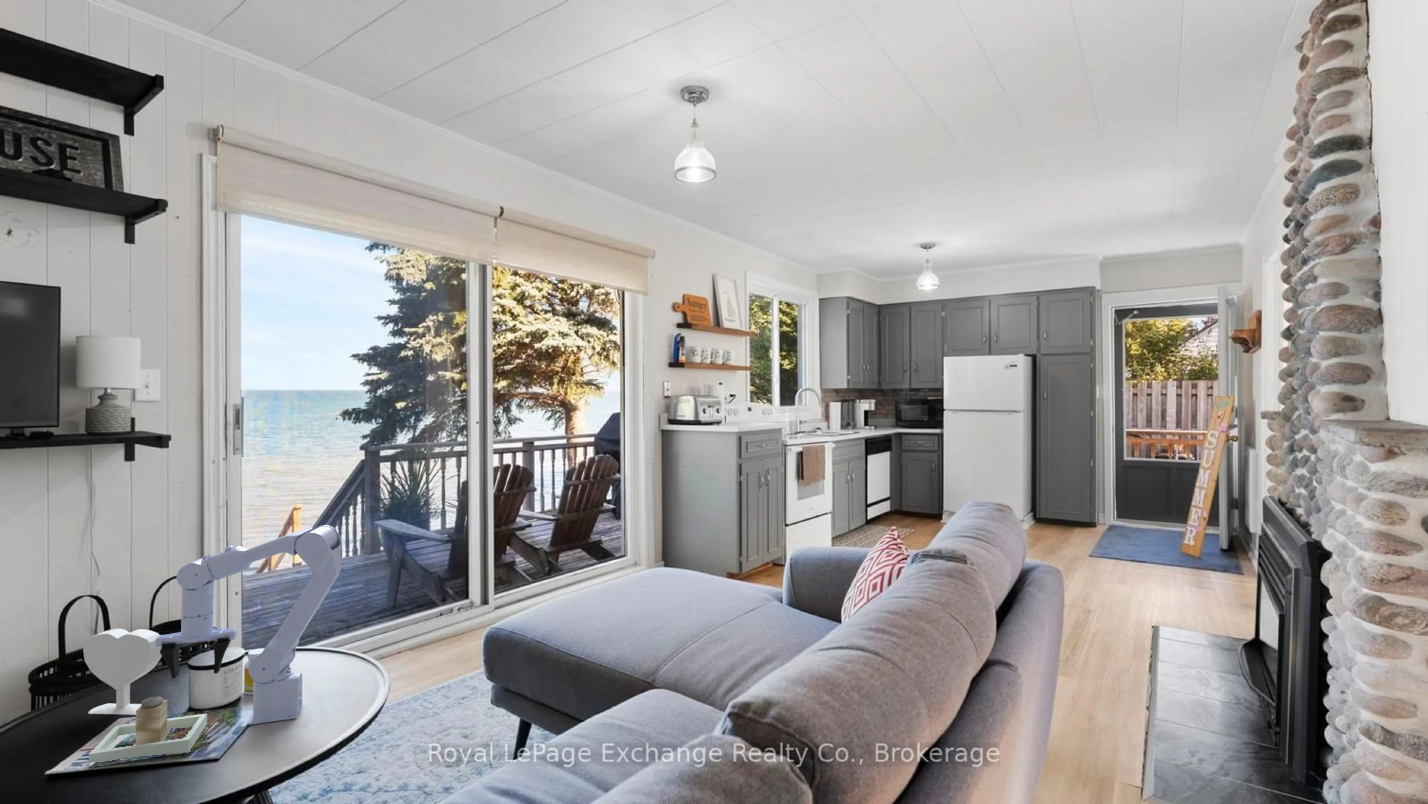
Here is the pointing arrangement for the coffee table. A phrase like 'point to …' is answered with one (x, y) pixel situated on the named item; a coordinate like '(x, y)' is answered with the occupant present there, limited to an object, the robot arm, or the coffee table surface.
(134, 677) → the heart sculpture
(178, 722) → the tray
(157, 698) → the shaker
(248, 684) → the supplement bottle
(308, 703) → the coffee table surface
